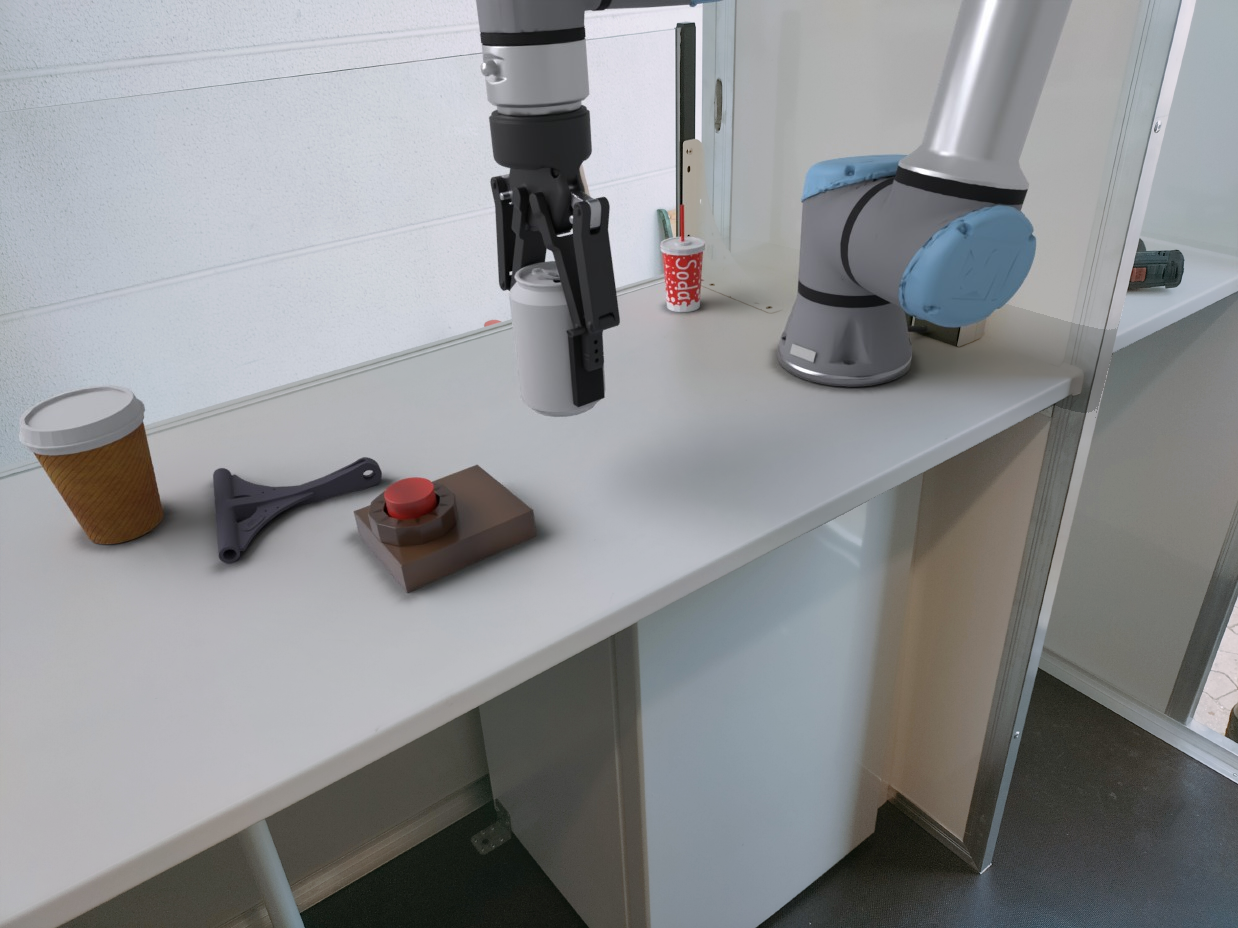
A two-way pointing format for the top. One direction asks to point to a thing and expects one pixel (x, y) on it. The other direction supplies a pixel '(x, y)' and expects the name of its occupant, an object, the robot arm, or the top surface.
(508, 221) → the robot arm
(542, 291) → the can
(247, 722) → the top surface
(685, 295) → the beverage cup
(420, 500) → the button
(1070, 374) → the top surface
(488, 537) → the button box
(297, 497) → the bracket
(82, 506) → the disposable coffee cup
